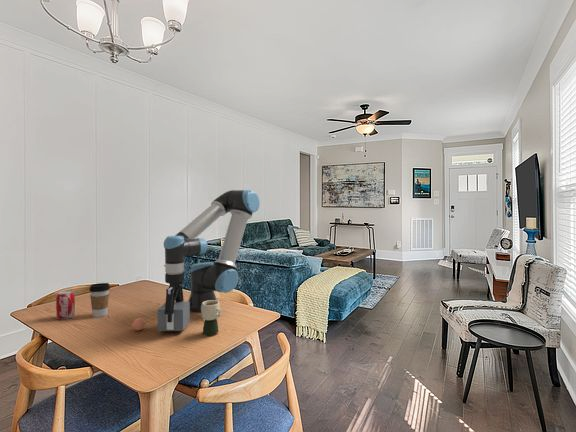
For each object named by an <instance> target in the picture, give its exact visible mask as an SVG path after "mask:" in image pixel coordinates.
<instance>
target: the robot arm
mask: <svg viewBox="0 0 576 432" xmlns="http://www.w3.org/2000/svg"><path fill="white" fill-rule="evenodd" d="M259 209H260V198H259V195H258V194H257V193H256V191H254V190H252V189H251V190H249V189H244V190H243V189H241V190H240V189H237V190H234V189H232V190H228V191H225V192H224V193H223V194H220V195H219V196H217V197H216V198H215V199H213V201H212V202H211V204H210V206H208V208H206V209H205V210H203V211H202V212H201V213H200V214H199V215H198V216H197V217H195V218H194V219H193V220H192V221H190V223H188V224H186V225H185V227H183V228H182V229H181V230H180V231H179V232H178V233H176V234H175V235H168V236H166V238H165V239H164V241H163V248H164V258H165V259H164V262H165V263H164V264H163V267H164V268H165V269H164V270H165V271H164V272H165V273H164V282H165V283H166V284H169V286H168V288H166V290H165V294H166V295H165V302H164V304H165V312H164V314H167V330H174V313H173V310H174V304H175V302H185V301H184V293H183V292H184V291H183V282H184V281H185V272H184V271H185V258H187V257H194V256H202V255H204V254H206V252H207V251H208V242H207V240H206V239H205V238H203V237H200V238H199V236H200V235H201V234H202V233H203V232H204V231H206V229H208V228H209V227H210V226H212V224H213V223H214V222H215V221H217V220H218V219H219V218H220V217H223V216H225V215H227V214H228V213H230V214H231V217H230V219H229V223H228V225H227V226H228V227H227V230H226V233H225V236H224V239H223V243H222V246H221V250H220V252H219V257H218V258H217V259H216V260H215V261H206V262H199V263H193V264H192V265H191V267H190V272H189V273H190V295H189V297H188V301H187V302H190V312H197V313H200V312H201V305H202V303H203V302H204V301H208V300H217V296H216V293H215V292H218V293H222V294H224V293H225V294H227V293H231V292H232V291H234V289H236V287H237V285H238V282H239V281H240V280H239V279H240V277H239V273H238V271H237V268H238V267H237V265H236V260H237V258H238V254H239V250H240V247H241V244H242V241H243V236H244V233H245V231H246V226H247V223H248V220H249V219H251V218H252V216H253V214H254V213H256V212H258V210H259ZM217 301H218V300H217ZM201 313H202V312H201Z"/></svg>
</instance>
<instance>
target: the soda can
mask: <svg viewBox="0 0 576 432" xmlns="http://www.w3.org/2000/svg"><path fill="white" fill-rule="evenodd" d="M55 297H56V298H55V313H56V318H57V319H59V320H62V321H63V320H68V319H69V320H70V319H72V317H74V316H75V315H76V314H75V313H76V310H75V309H76V301H75V293H74V291H73V290H62V291H59V292H57V295H56V296H55Z"/></svg>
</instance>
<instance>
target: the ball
mask: <svg viewBox="0 0 576 432" xmlns="http://www.w3.org/2000/svg"><path fill="white" fill-rule="evenodd" d="M131 326H132V328H133V329H134V330H135V331H141V330H143V329H144V328H145V326H146V321H145V319H144V318H142V317H138V318H136V319H134V320H133V322H132V325H131Z"/></svg>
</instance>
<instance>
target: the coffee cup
mask: <svg viewBox="0 0 576 432" xmlns="http://www.w3.org/2000/svg"><path fill="white" fill-rule="evenodd" d="M110 289H111V286H110V283H109V282H100V283H93V284H91V285H90V286H89V290H88V291H89V293H90V304H91V311H92V317H93V318H101V317H102V316H103V317H105V316H108V307H109V298H110V292H109V291H110Z"/></svg>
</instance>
